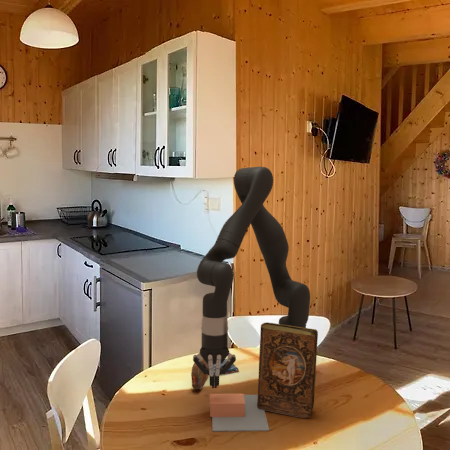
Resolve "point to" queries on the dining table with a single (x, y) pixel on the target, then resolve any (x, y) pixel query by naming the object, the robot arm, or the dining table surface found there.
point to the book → (287, 369)
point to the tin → (198, 376)
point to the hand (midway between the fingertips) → (214, 386)
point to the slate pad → (243, 419)
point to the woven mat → (231, 369)
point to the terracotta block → (227, 405)
